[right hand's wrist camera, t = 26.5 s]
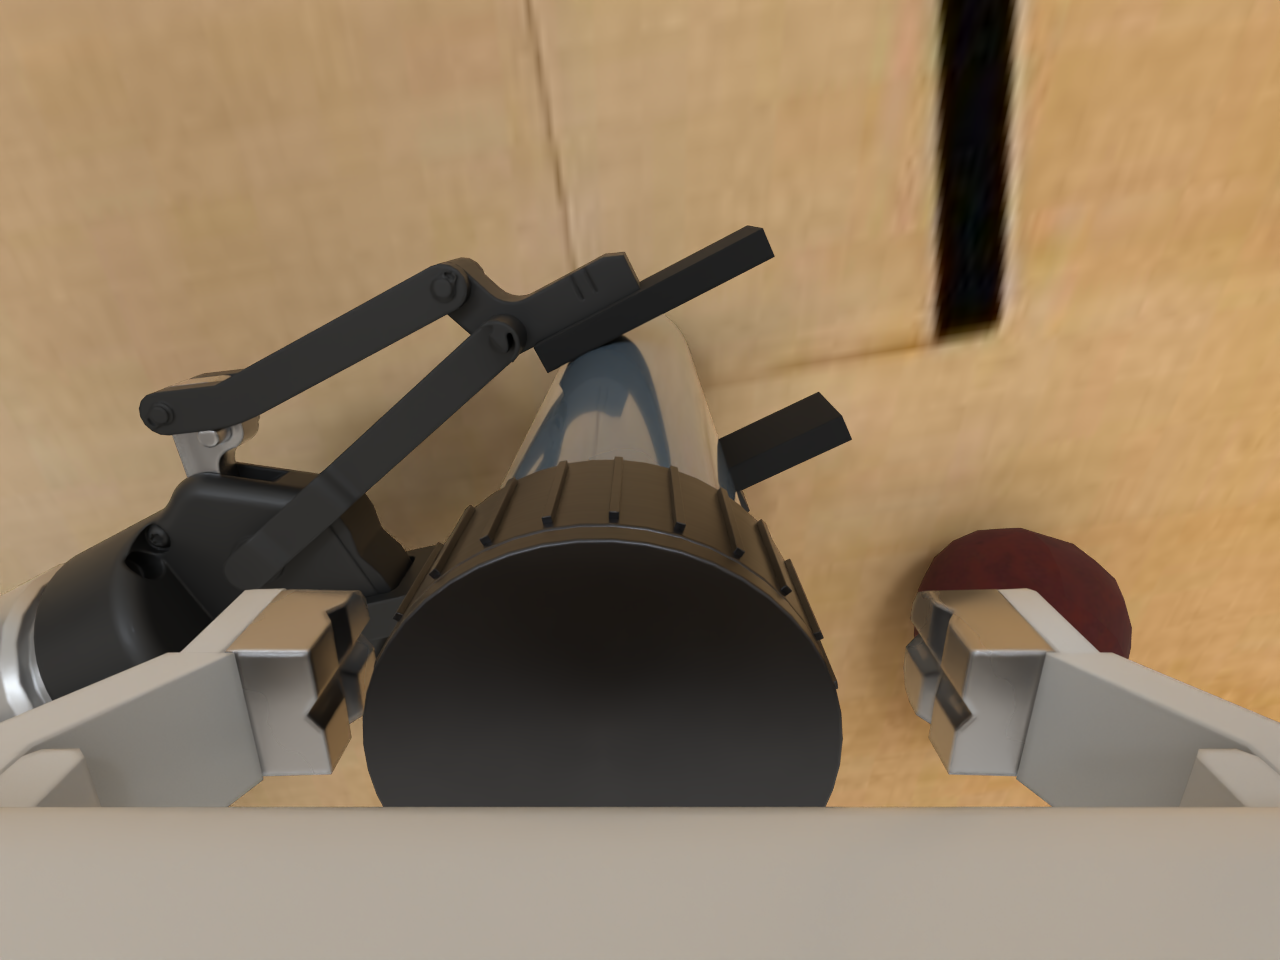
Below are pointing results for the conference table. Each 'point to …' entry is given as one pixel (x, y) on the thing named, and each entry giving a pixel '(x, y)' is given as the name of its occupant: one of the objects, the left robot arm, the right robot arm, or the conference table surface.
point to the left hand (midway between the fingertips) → (797, 331)
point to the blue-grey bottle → (628, 410)
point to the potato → (1038, 580)
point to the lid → (604, 655)
